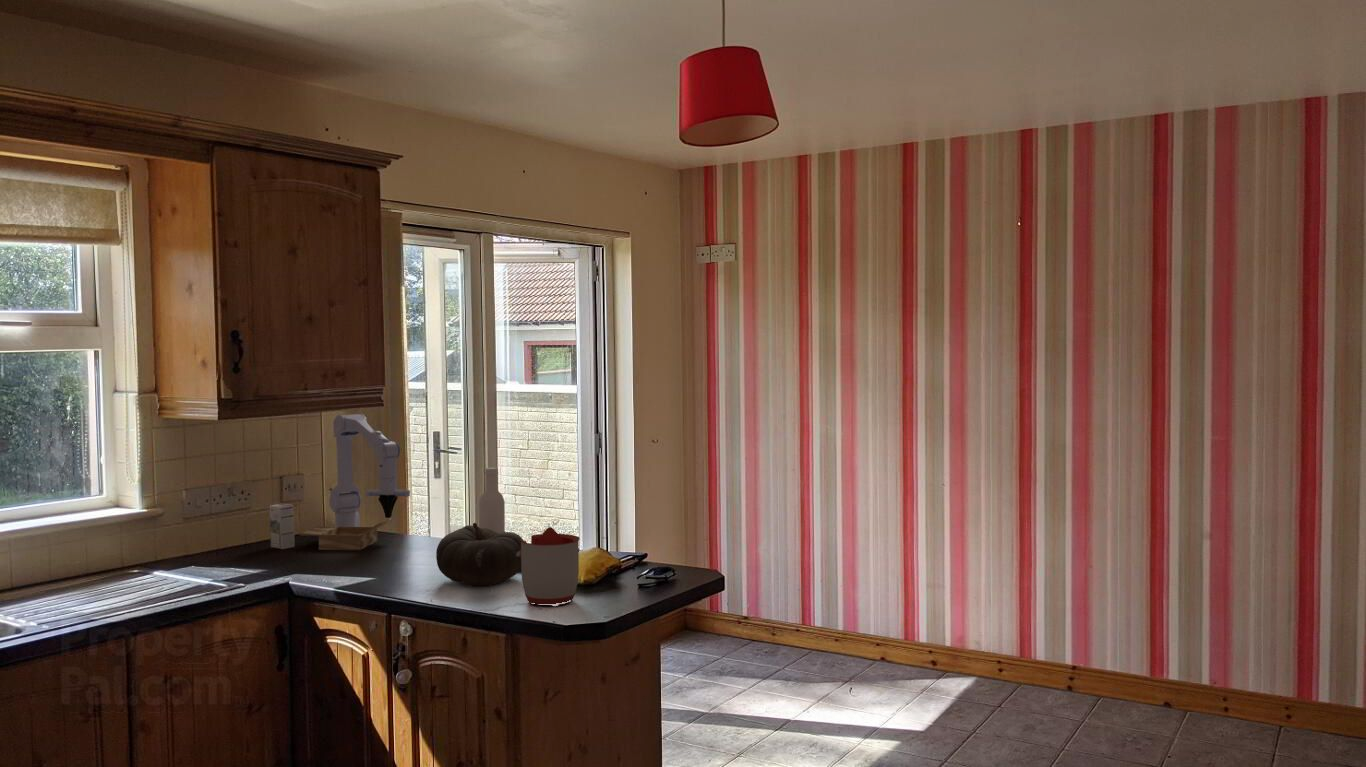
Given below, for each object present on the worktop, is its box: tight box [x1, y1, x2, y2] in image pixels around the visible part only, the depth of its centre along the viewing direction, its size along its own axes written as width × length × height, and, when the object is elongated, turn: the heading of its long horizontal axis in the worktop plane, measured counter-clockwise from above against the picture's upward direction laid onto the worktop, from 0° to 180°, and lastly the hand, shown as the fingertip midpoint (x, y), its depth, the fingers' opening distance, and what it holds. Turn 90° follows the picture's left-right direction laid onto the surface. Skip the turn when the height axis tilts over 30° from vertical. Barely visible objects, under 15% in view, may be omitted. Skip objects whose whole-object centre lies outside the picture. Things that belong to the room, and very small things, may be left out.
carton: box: [299, 526, 378, 551], centre depth 354 cm, size 16×21×5 cm
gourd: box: [435, 522, 524, 586], centre depth 301 cm, size 25×25×17 cm
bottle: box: [478, 467, 506, 533], centre depth 323 cm, size 8×8×30 cm
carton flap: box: [361, 516, 394, 536], centre depth 353 cm, size 14×7×1 cm
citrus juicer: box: [516, 526, 580, 604], centre depth 275 cm, size 16×17×20 cm
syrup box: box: [269, 503, 295, 550], centre depth 351 cm, size 6×6×14 cm
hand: (388, 517), depth 353 cm, fingers closed
